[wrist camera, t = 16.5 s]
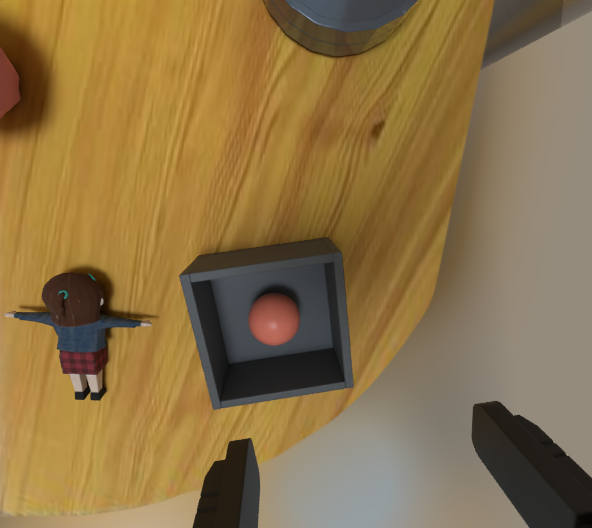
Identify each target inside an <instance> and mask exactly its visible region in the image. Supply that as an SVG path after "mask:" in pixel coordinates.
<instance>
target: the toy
mask: <svg viewBox="0 0 592 528" xmlns="http://www.w3.org/2000/svg"><path fill="white" fill-rule="evenodd" d="M89 275H90V276H89ZM89 275H87V274H83V273H75V272H70V273H62V274H59V275H57V276H55V277H53V278H52V279H50V280H49V281H48V282H47V283H46V284H45V286H44V288H43V291H42V299H43V301H44V303H45V305H46V307H47V308H48V309H49V310H50V311H51V312H16V311H12V312H8V313H5V314H4V316H8V317H13V318H19V319H20V320H27V321H36V322H40V323H44V324H47V325H50V326H53V327H54V329H55V331H56V333H57V335H58V345H57V349H58V350H60V355H59V358H60V362H61V367H62V371H63V374H69V375H70V378H71V380H72V383H73V386H74V389H75V399H76V400H84V399H85V398H86V397H87V395H88V394H89V393H90V391H91V394H90V395H91V400H99V401H100V399H101V398H102V397H103V395H104V394H105V392H106V388H102V369H103V367H104V366H105V365H106V364H107V350H106V344H107V340H106V335H105V331H106V328H112V327H132V328H135V327H136V326H151V325H152V323H151V322H149V320H147V321H139V320H132V319H126V318H121V317H115V316H107V315H102V314H101V313H99V310H100V307H101V305H102V304H103V302H104V300H103V299H104V292H103V287H102V286H101V284H100V283H99V282H98V281H97V280H96V279H94V277H93V276H92V275H91V274H89ZM86 377H87V378H86ZM87 380H88V383H89V386H90V387H87Z"/></svg>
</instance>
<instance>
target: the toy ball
mask: <svg viewBox="0 0 592 528" xmlns="http://www.w3.org/2000/svg"><path fill="white" fill-rule="evenodd" d="M248 324H249V328H250V330H251V333H252V334H253V335H254V337H255V338H256V339H257V340H259V341H260V342H262V343H264V344H266V345H272V346H276V345H281V344H284V343H286V342H288V341H289V340H290V339H292V338H293V337H294V335H295V334H296V332H297V331H298V328H299V325H300V313H299V309H298V307H297V305H296V304H295V302H294V301H293V300H292V299H291V298H289V297H288V296H286V295H284V294H281V293H268V294H265V295H263V296H261V297H260V298H258V299H257V300H256V301H255V302H254V303H253V305H252V306H251V308H250V311H249V315H248Z"/></svg>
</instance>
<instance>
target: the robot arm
mask: <svg viewBox="0 0 592 528" xmlns="http://www.w3.org/2000/svg"><path fill="white" fill-rule="evenodd" d="M472 420H473V421H472V442H473V445H474V448H475V450H476V452H477V454H478V456H479V458H480V459H481V460H482V462H483V463H484V465H485V466H486V467H487V469H488V470H489V472H490V473H491V475H492V476H493V477H494V479H495V480H496V482H497V483H498V484H499V486H500V487H501V488H502V490H503V491H504V493H505V494H506V496H507V497H508V498H509V500H510V501H511V502H512V504H513V505H514V507H515V508H516V510H517V511H518V512H519V514H520V515H521V517H522V518H523V519H524V521H525V522H526V524H527V525H528V526H529V528H592V478H591V477H590V476H589V475H588V474H587V473H586V472H585V471H584V470H583V469H582V468H581V467H580V466H579V465H578V464H576V462H574V461H573V460H572V459H571V458H570V457H569V456H567V455H566V453H565V452H564V451H563V450H562V449H561V448H560V447H559V446H558V445H557V444H554V443H553V440H552V439H550V437H549V436H548V435H546V434H545V433H544V432H543V431H542V430H541V429H540V428H539V427H538V426H537V425H535V424H533V423H532V422H530V421H529V420H527V419H525V418H524V417H522V416H520V415H516V416H513V415H512V414H511V413H510V412H509V411H508V410H507V409H506V408H505V406H503V405H502V404H501V403H500V402H498V401H492V402H486V403H479V404H475V405H474V406H473V419H472ZM259 497H260V477H259V469H258V465H257V460H256V456H255V452H254V447H253V443H252V440H251V438H248V439H242V440H235V441H230V442H229V444H228V449H227V454H226V459H225V460H221V461H215V462H214V463H213V465H212V467H211V468H210V470H209V471H208V473H207V475H206V476H205V479H204V483H203V487H202V491H201V498H200V500H199V504H198V508H197V514H196V516H195V520H194V524H193V528H258V513H259Z"/></svg>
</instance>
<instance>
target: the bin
mask: <svg viewBox="0 0 592 528" xmlns="http://www.w3.org/2000/svg"><path fill="white" fill-rule="evenodd" d="M179 277H180V281H181V285H182V288H183V292H184V296H185V300H186V304H187V308H188V312H189V316H190V320H191V324H192V328H193V332H194V336H195V340H196V343H197V347H198V351H199V355H200V359H201V363H202V367H203V371H204V375H205V379H206V383H207V387H208V391H209V395H210V398H211V402H212V406H213V410H215V409H221V408H227V407H233V406H239V405H245V404H252V403H258V402H264V401H270V400H277V399H283V398H289V397H295V396H302V395H308V394H314V393H320V392H327V391H333V390H339V389H345V388H352V387H354V385H353V373H352V362H351V350H350V339H349V328H348V316H347V305H346V293H345V282H344V270H343V259H342V252H341V251H340V250H339V249H338V248H337V247H336V246H335V244H334V243H333V242H332V241H331V240H330V239H329V238H328V237H327V238H320V239H313V240H306V241H299V242H292V243H285V244H278V245H271V246H264V247H256V248H249V249H242V250H235V251H228V252H221V253H214V254H207V255H200V256H198V257H197V258H196V259H195V260H194V261H193V262H192V263H191V264H190V265H189V266H188V267H187V268H186V269H185V270H184V271H183V272H182V273H181V274H180V275H179ZM268 293H281V294H284V295H286V296H288V297H289V298H291V299H292V300H293V301H294V302H295V304H296V305H297V307H298V309H299V313H300V325H299V328H298V331H297V332H296V334H295V335H294V337H293V338H292V339H290V340H289V341H288V342H286V343H284V344H281V345H276V346H272V345H266V344H264V343H262V342H260V341H259V340H257V339H256V338H255V337H254V335H253V334H252V333H251V330H250V328H249V324H248V315H249V311H250V308H251V306H252V305H253V303H254V302H255V301H256V300H257V299H258V298H260V297H261V296H263V295H265V294H268Z"/></svg>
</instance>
